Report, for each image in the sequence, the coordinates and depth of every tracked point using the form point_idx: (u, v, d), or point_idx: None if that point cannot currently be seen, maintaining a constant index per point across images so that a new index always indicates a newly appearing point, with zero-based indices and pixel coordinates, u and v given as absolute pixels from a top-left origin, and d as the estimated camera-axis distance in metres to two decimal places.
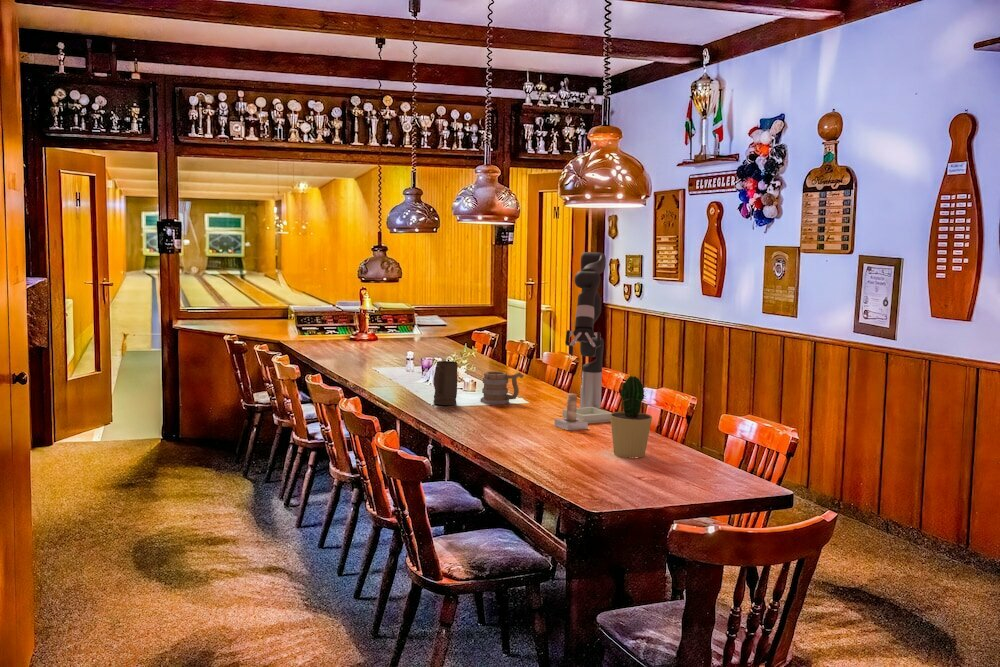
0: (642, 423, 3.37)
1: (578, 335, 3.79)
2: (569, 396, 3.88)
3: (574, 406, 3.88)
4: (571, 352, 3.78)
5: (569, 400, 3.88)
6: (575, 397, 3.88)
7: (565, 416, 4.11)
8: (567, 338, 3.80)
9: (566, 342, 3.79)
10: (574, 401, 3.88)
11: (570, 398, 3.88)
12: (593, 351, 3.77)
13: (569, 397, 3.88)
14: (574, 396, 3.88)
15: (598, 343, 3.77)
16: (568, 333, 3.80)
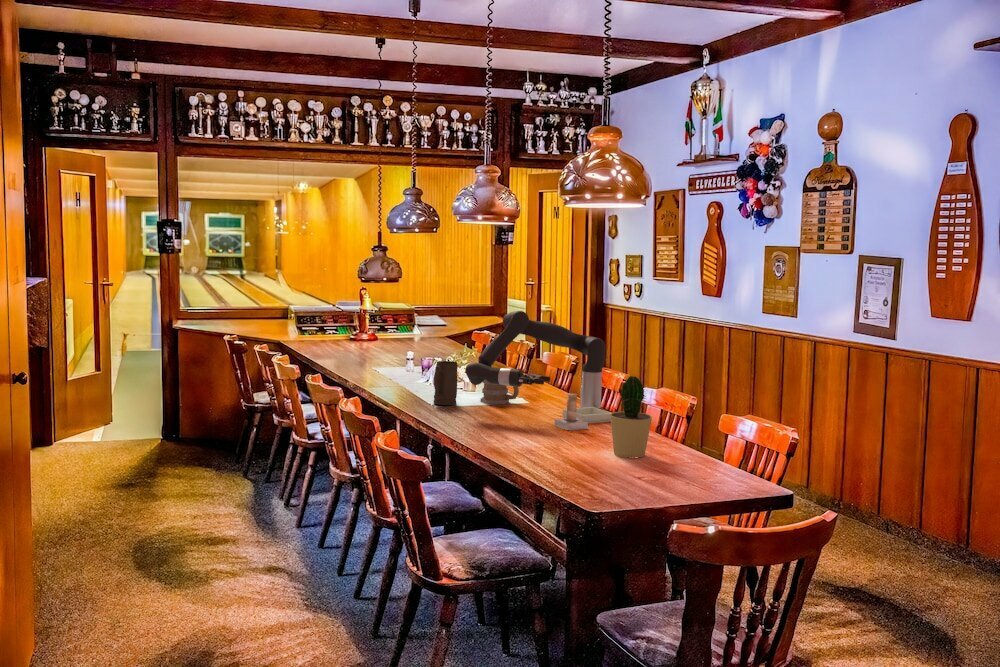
0: (642, 423, 3.37)
1: None
2: (569, 396, 3.88)
3: (574, 406, 3.88)
4: (547, 381, 3.97)
5: (569, 400, 3.88)
6: (575, 397, 3.88)
7: (565, 416, 4.11)
8: None
9: None
10: (574, 401, 3.88)
11: (570, 398, 3.88)
12: None
13: (569, 397, 3.88)
14: (574, 396, 3.88)
15: None
16: None
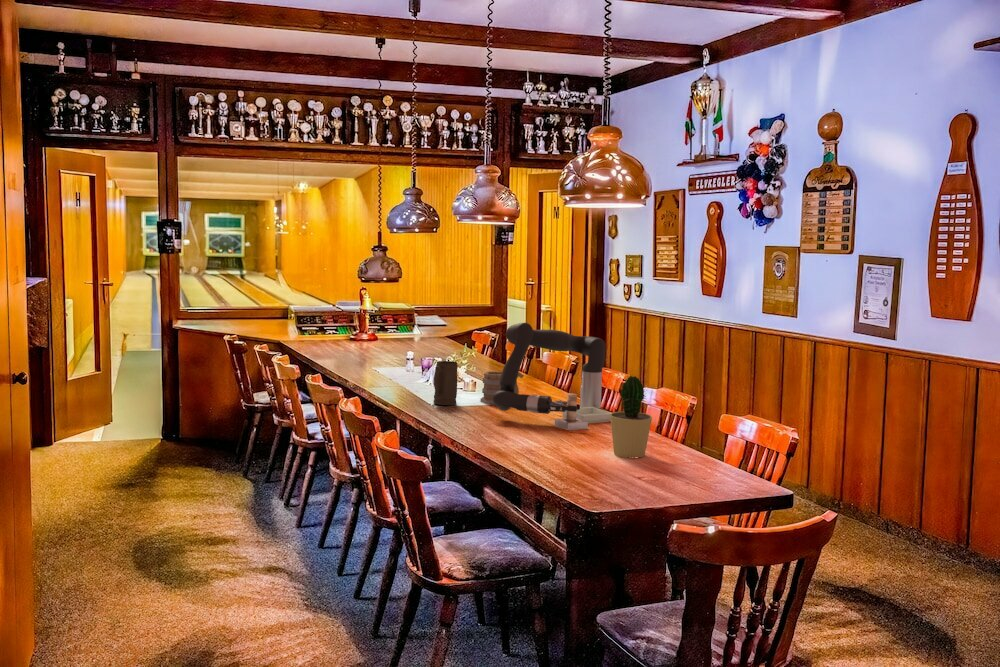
0: (642, 423, 3.37)
1: None
2: (569, 396, 3.88)
3: None
4: (577, 409, 3.92)
5: (569, 400, 3.88)
6: (575, 397, 3.88)
7: (565, 416, 4.11)
8: None
9: None
10: (574, 401, 3.88)
11: (570, 398, 3.88)
12: None
13: (569, 397, 3.88)
14: (574, 396, 3.88)
15: None
16: None
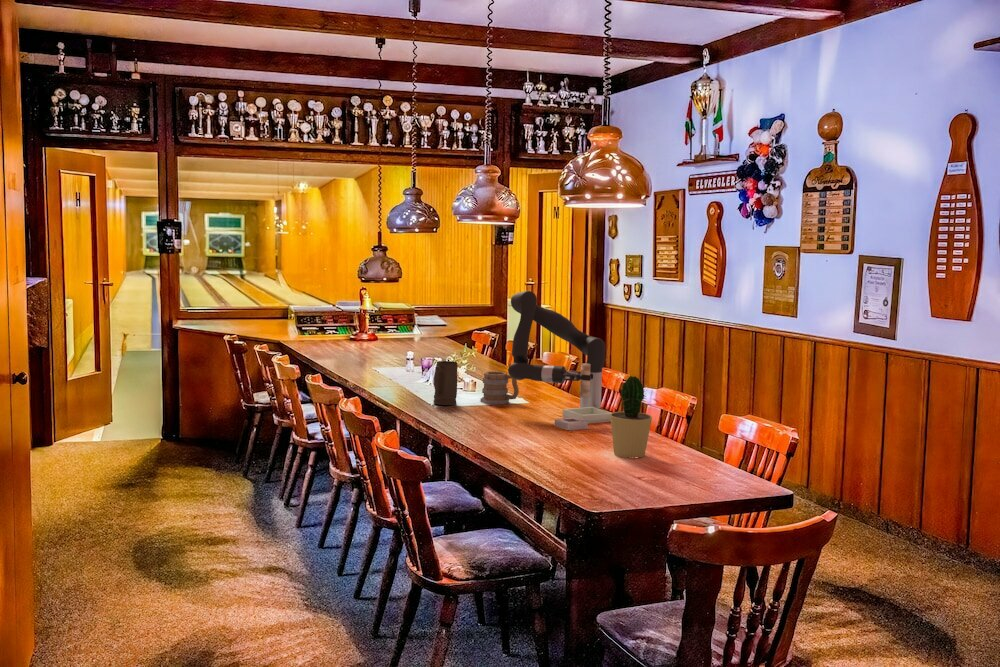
0: (642, 423, 3.37)
1: None
2: (583, 366, 3.99)
3: None
4: (590, 378, 4.03)
5: (583, 370, 3.99)
6: (589, 367, 3.99)
7: (565, 416, 4.11)
8: None
9: None
10: (588, 370, 3.99)
11: (584, 367, 3.99)
12: None
13: (583, 367, 3.99)
14: (588, 366, 3.99)
15: (577, 380, 3.98)
16: None
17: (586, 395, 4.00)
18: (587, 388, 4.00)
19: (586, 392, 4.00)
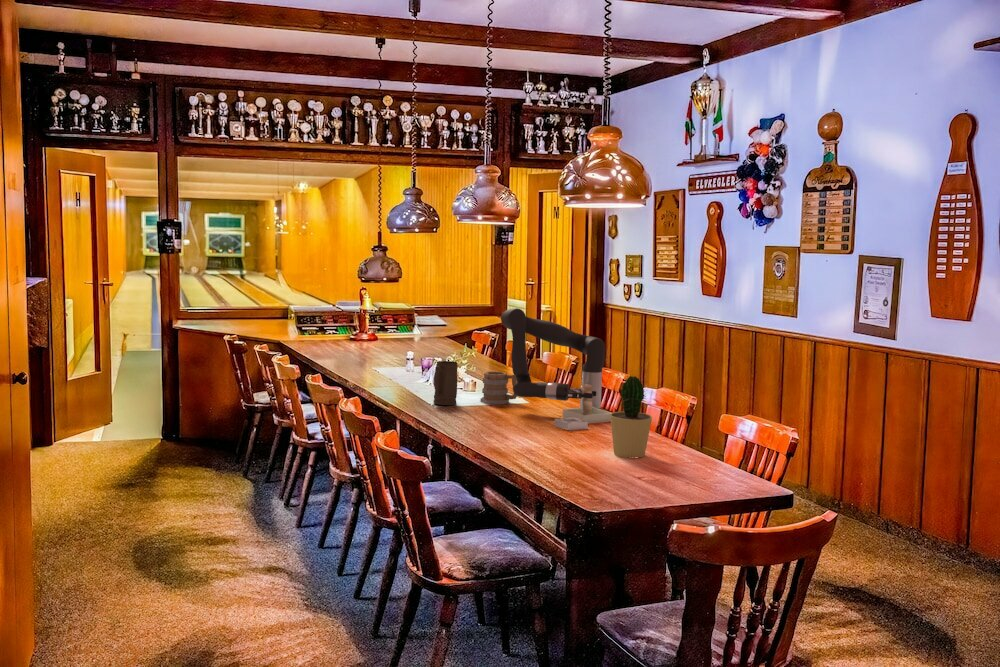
0: (642, 423, 3.37)
1: (576, 396, 4.12)
2: (584, 387, 4.07)
3: None
4: (593, 396, 4.11)
5: (584, 390, 4.07)
6: (590, 387, 4.07)
7: (565, 416, 4.11)
8: None
9: None
10: (589, 391, 4.07)
11: (585, 388, 4.07)
12: None
13: (584, 387, 4.07)
14: (589, 386, 4.07)
15: None
16: None
17: None
18: (589, 408, 4.07)
19: (588, 412, 4.07)
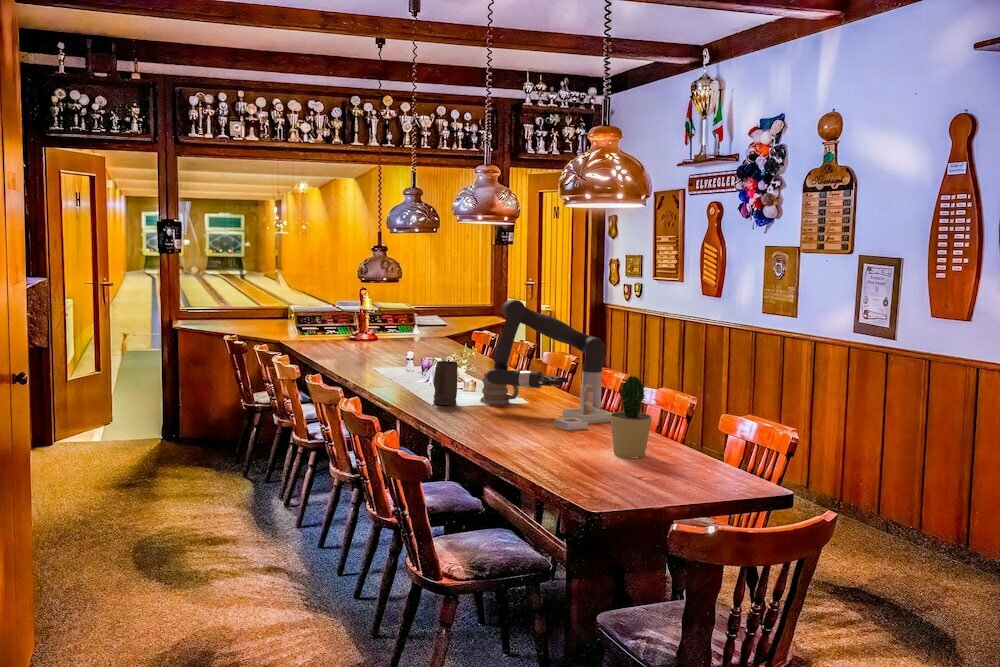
0: (642, 423, 3.37)
1: None
2: (586, 387, 4.07)
3: (591, 396, 4.07)
4: None
5: (586, 391, 4.07)
6: (592, 388, 4.07)
7: (565, 416, 4.11)
8: None
9: None
10: (591, 392, 4.07)
11: (587, 388, 4.06)
12: None
13: (586, 388, 4.07)
14: (591, 387, 4.06)
15: (549, 385, 4.08)
16: None
17: None
18: (590, 409, 4.07)
19: (588, 412, 4.07)
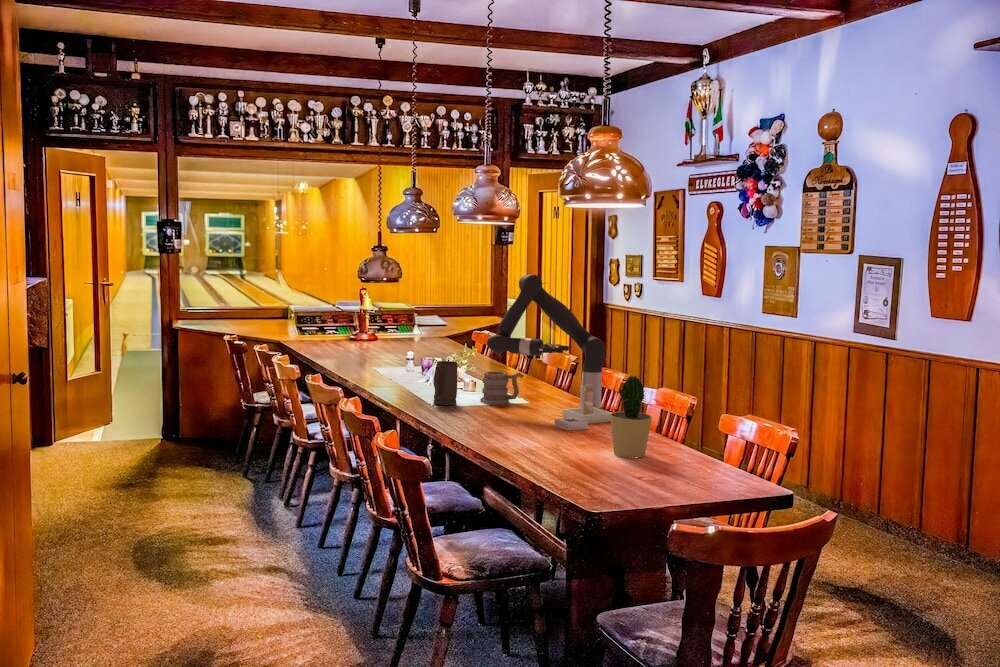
0: (642, 423, 3.37)
1: None
2: (586, 387, 4.07)
3: (591, 396, 4.07)
4: (566, 350, 4.15)
5: (586, 391, 4.07)
6: (592, 388, 4.07)
7: (565, 416, 4.11)
8: None
9: None
10: (591, 392, 4.07)
11: (587, 388, 4.06)
12: (558, 352, 4.07)
13: (586, 388, 4.07)
14: (591, 387, 4.06)
15: None
16: None
17: None
18: (590, 409, 4.07)
19: (588, 412, 4.07)
